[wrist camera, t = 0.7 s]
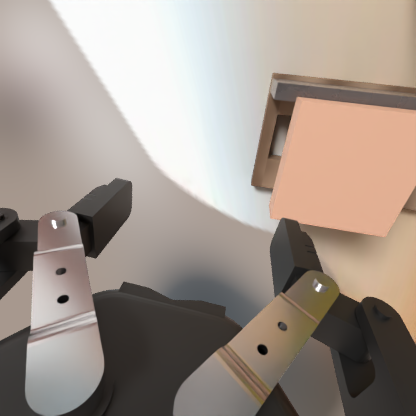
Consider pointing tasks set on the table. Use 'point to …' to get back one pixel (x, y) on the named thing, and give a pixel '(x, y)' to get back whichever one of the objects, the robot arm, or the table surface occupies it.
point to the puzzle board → (325, 90)
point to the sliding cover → (346, 166)
